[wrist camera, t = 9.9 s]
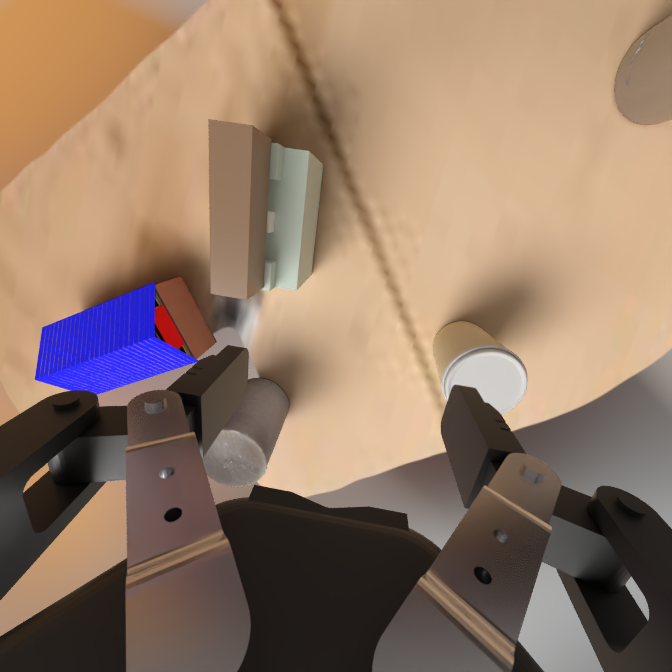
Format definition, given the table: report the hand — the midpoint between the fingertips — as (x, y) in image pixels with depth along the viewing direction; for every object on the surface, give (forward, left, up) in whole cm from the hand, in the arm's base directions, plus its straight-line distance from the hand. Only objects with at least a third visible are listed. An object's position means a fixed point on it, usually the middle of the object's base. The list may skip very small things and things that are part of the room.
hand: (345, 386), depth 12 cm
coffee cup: (-16, +10, -34) cm, 39 cm away
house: (+32, +16, -35) cm, 50 cm away
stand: (+12, -4, -34) cm, 36 cm away
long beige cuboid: (+12, -4, -22) cm, 26 cm away
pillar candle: (+13, +26, -34) cm, 45 cm away
